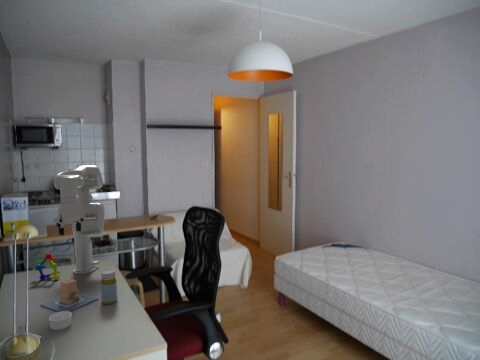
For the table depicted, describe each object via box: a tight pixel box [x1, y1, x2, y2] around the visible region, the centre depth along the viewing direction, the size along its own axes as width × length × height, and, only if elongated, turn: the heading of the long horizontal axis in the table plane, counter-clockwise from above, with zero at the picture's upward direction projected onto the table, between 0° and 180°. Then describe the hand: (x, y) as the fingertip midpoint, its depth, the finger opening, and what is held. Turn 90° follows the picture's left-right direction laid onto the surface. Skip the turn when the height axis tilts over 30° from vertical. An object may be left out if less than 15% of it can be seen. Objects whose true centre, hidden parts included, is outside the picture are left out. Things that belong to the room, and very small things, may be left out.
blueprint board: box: [40, 292, 99, 313], centre depth 173 cm, size 18×18×1 cm
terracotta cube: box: [60, 278, 78, 294], centre depth 172 cm, size 5×5×5 cm
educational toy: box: [35, 253, 60, 281], centre depth 203 cm, size 16×13×15 cm
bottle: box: [100, 269, 118, 305], centre depth 173 cm, size 7×7×15 cm
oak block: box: [59, 289, 80, 305], centre depth 173 cm, size 6×6×5 cm
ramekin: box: [48, 311, 73, 331], centre depth 150 cm, size 9×9×4 cm
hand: (70, 233), depth 186 cm, fingers open, 9 cm apart
